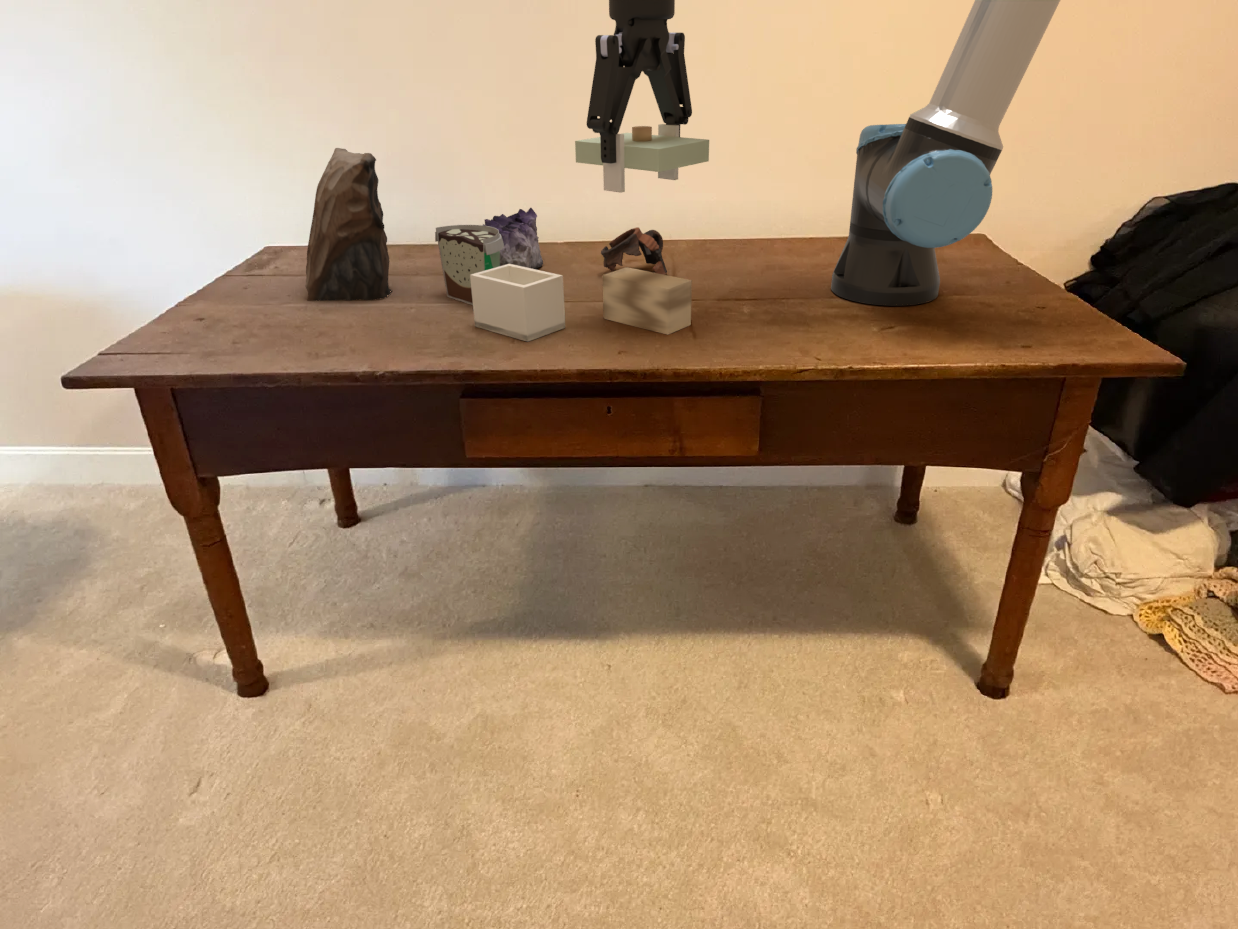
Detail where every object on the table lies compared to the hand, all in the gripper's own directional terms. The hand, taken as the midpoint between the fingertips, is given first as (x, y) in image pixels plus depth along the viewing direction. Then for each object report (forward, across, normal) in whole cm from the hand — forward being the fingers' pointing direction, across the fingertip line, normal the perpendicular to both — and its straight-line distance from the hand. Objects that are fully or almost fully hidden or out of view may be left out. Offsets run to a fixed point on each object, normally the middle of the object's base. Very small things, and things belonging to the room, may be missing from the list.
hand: (642, 184), depth 108 cm
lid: (-3, 0, 0) cm, 3 cm away
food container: (+18, +6, -26) cm, 32 cm away
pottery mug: (+18, -19, -16) cm, 31 cm away
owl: (+18, +16, -45) cm, 51 cm away
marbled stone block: (+18, 0, 0) cm, 18 cm away
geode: (+18, -8, -34) cm, 40 cm away
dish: (+18, +12, -12) cm, 24 cm away
